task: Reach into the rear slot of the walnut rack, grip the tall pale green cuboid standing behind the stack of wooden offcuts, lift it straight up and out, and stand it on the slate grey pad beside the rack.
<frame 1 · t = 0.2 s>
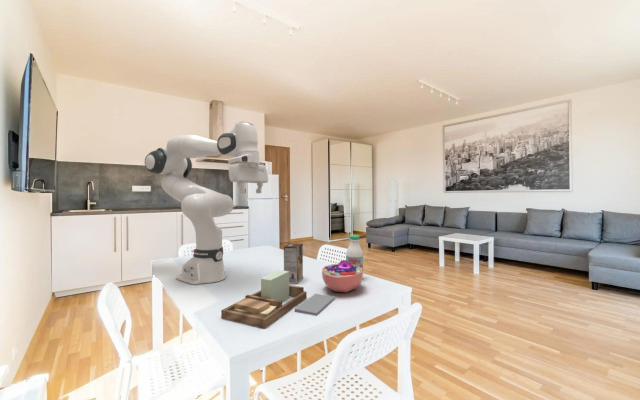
hand: (251, 193, 119), 39 cm above the table, tool pointing down, fingers open, 8 cm apart
pale green cuboid: (275, 302, 102), resting in walnut rack
milk bottle: (354, 279, 130), on the table
slate pad: (315, 304, 99), on the table
cell model: (342, 290, 115), on the table
coffee box: (293, 281, 127), on the table
walnut rack: (267, 307, 97), on the table
offcut stack: (254, 317, 90), resting in walnut rack
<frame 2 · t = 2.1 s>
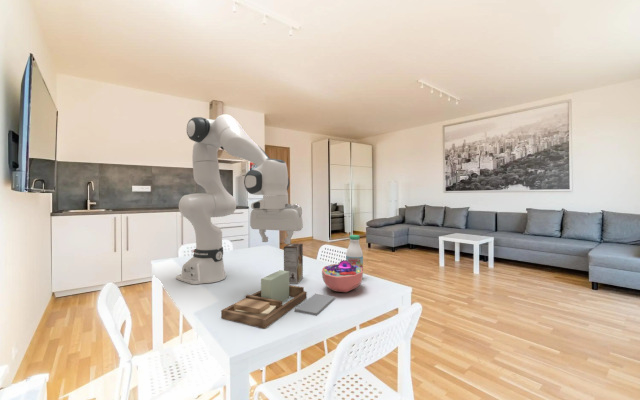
hand: (276, 242, 101), 21 cm above the table, tool pointing down, fingers open, 8 cm apart
nothing on the table moved.
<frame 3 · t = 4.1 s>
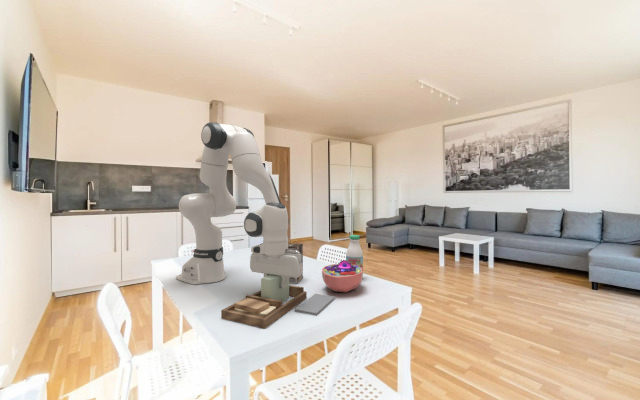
hand: (275, 286, 101), 6 cm above the table, tool pointing down, fingers closed on pale green cuboid, 4 cm apart
pale green cuboid: (275, 302, 102), resting in walnut rack, touching gripper
everything else where it was.
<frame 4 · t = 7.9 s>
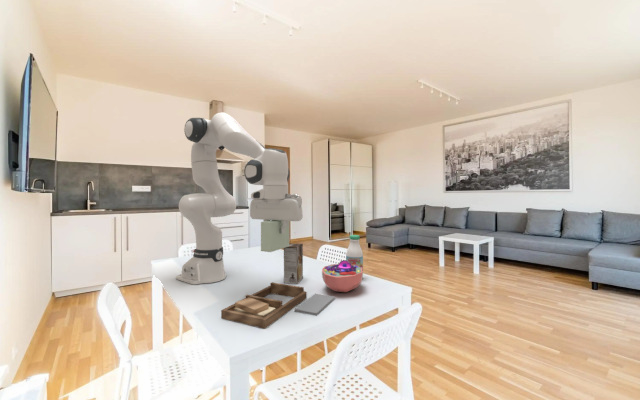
hand: (275, 232, 101), 25 cm above the table, tool pointing down, fingers closed on pale green cuboid, 4 cm apart
pale green cuboid: (275, 248, 101), point 19 cm above the table, touching gripper
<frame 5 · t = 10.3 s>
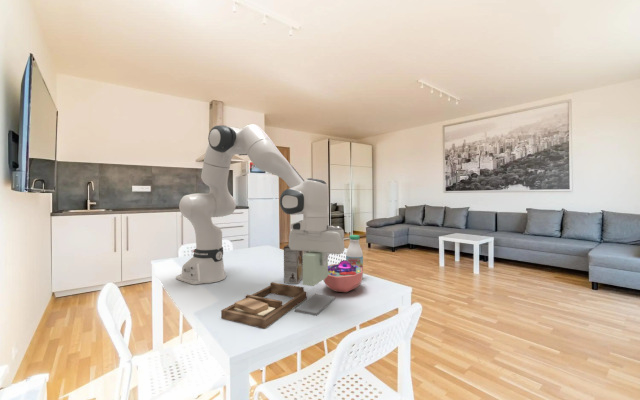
hand: (315, 264, 99), 14 cm above the table, tool pointing down, fingers closed on pale green cuboid, 4 cm apart
pale green cuboid: (315, 280, 99), point 9 cm above the table, touching gripper
everything else where it was.
when the fingers open (8 cm above the table, at t = 12.0 s): pale green cuboid drops 1 cm, resting on slate pad.
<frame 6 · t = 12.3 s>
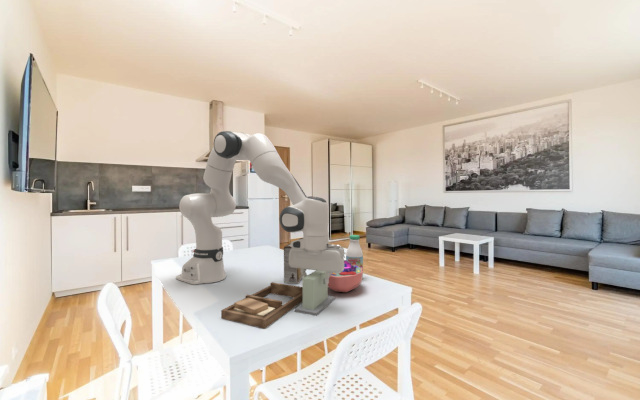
hand: (315, 282, 99), 8 cm above the table, tool pointing down, fingers open, 6 cm apart
pale green cuboid: (315, 302, 99), point 1 cm above the table, touching slate pad
everything else where it was.
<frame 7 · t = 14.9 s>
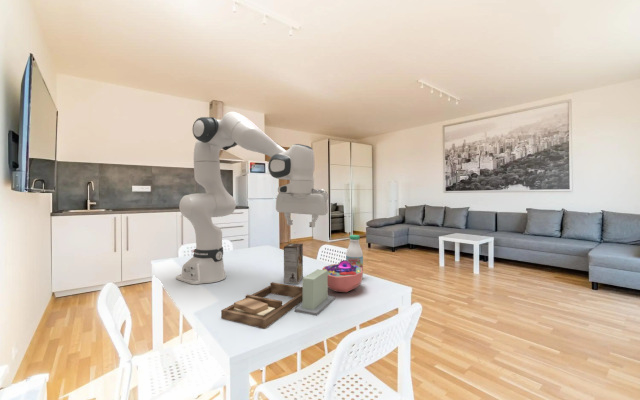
hand: (300, 226, 105), 27 cm above the table, tool pointing down, fingers open, 8 cm apart
nothing on the table moved.
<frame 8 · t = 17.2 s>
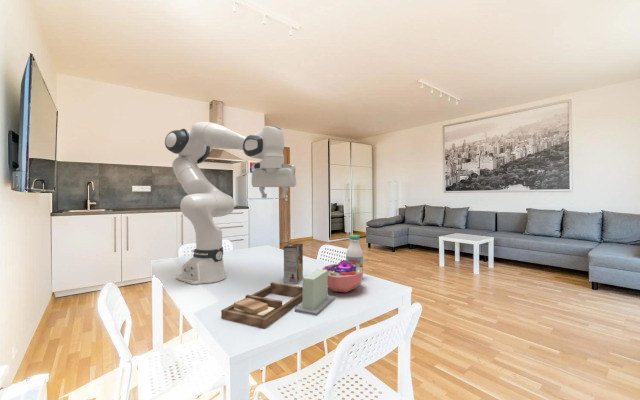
hand: (273, 198, 119), 37 cm above the table, tool pointing down, fingers open, 8 cm apart
nothing on the table moved.
at the end: pale green cuboid inside the target area on the slate pad (0.1 cm from its centre), point 0.8 cm above the slate pad's base; pale green cuboid tilted 0°; the gripper is holding nothing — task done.
